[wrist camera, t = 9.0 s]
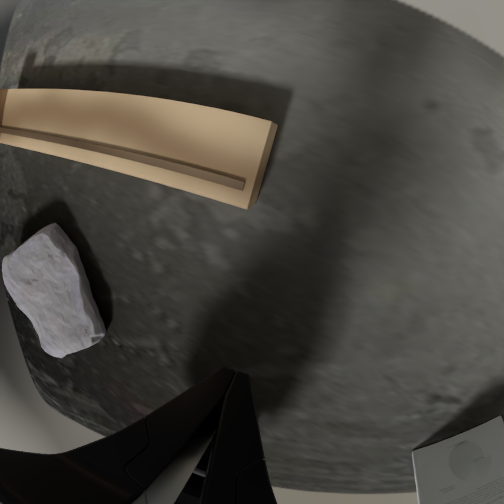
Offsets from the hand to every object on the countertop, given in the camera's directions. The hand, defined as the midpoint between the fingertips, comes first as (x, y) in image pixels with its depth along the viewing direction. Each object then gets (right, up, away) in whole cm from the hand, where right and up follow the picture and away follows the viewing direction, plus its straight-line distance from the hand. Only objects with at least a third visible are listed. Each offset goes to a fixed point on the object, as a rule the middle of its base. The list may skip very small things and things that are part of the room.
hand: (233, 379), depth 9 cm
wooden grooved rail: (-11, +13, +11) cm, 20 cm away
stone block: (-17, +1, +17) cm, 24 cm away
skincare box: (+22, -17, +14) cm, 31 cm away
